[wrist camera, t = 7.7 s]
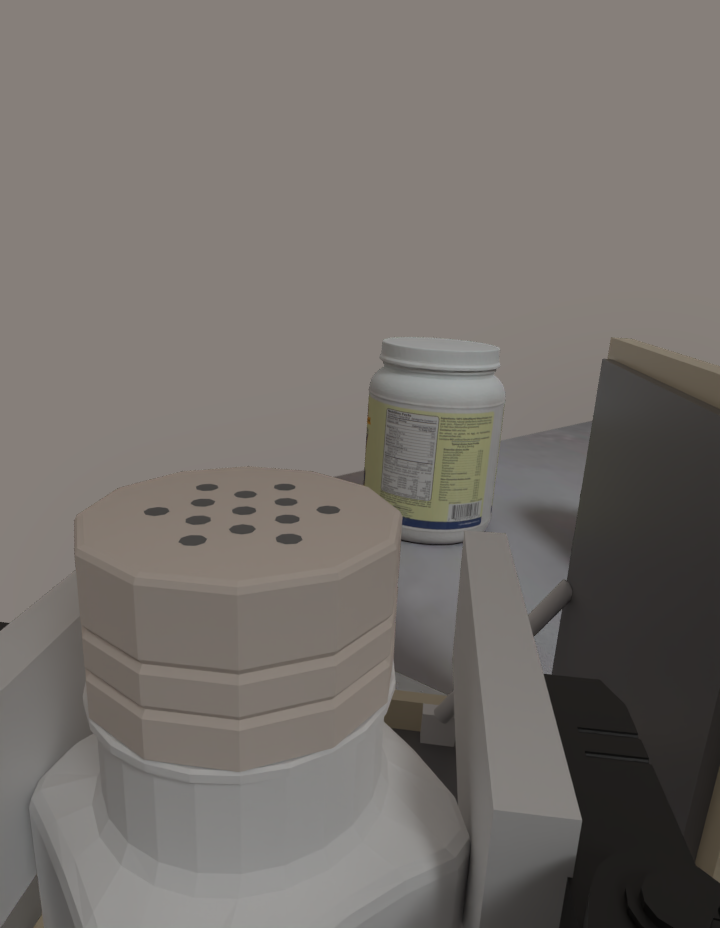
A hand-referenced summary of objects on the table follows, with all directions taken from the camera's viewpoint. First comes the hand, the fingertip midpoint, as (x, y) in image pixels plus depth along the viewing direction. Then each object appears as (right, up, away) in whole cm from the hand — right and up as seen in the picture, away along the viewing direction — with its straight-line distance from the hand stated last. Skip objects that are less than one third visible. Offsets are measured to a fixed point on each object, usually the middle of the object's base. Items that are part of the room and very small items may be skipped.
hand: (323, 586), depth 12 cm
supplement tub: (+7, -3, +50) cm, 50 cm away
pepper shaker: (-1, -7, -3) cm, 8 cm away
